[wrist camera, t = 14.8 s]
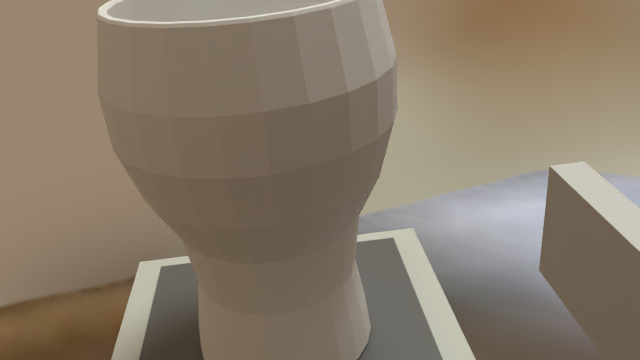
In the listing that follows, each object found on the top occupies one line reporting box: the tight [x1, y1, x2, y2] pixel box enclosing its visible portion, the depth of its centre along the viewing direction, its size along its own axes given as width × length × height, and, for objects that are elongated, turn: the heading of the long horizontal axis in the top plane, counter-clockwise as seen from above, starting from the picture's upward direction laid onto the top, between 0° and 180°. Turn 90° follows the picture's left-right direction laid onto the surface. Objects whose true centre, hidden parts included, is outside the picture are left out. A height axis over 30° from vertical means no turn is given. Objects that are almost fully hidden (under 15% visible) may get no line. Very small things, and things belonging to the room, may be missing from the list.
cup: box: [97, 0, 397, 360], centre depth 24 cm, size 11×11×15 cm
